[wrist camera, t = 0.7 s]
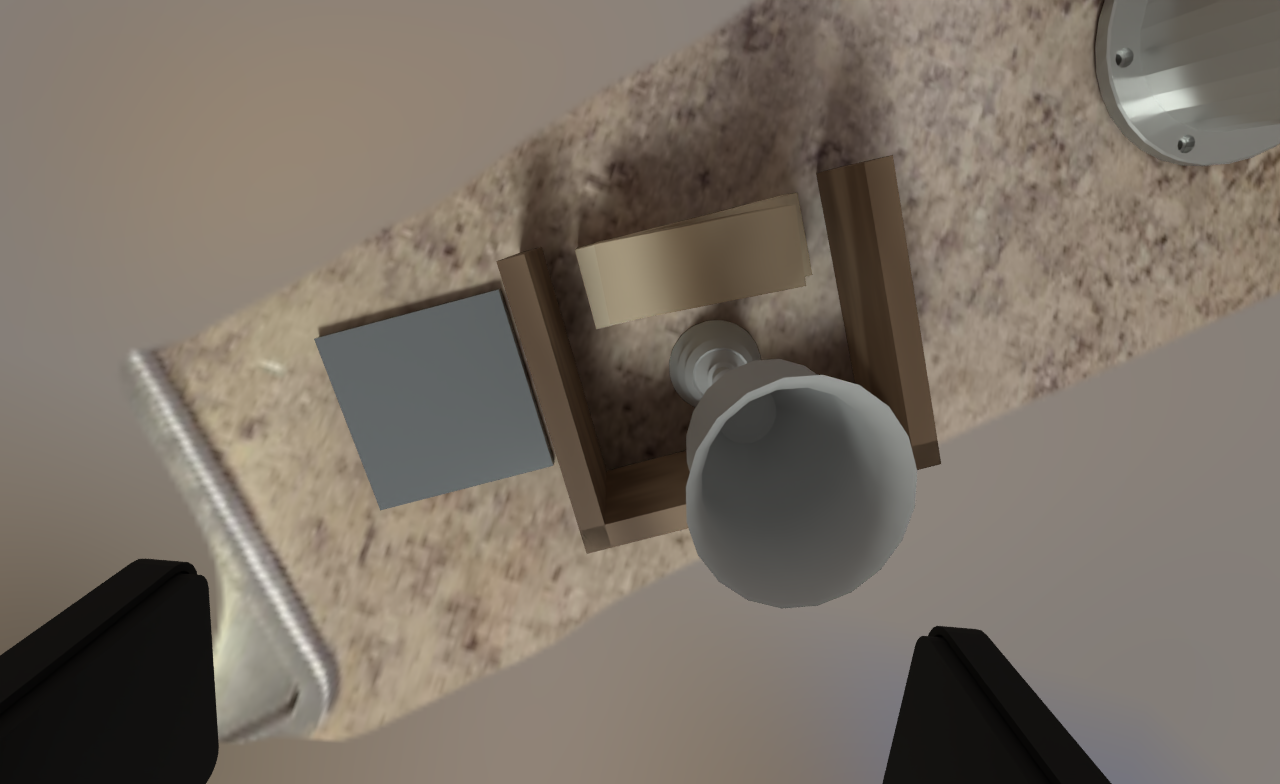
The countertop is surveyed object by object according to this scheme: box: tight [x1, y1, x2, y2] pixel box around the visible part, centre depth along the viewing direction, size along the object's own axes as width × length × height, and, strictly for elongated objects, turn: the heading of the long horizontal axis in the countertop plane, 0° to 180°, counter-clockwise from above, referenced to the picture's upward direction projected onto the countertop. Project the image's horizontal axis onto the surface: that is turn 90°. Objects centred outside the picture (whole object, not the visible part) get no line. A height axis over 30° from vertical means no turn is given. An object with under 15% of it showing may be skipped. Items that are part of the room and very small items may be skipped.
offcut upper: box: [594, 205, 806, 324], centre depth 32 cm, size 9×4×3 cm, turn 101°
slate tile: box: [314, 289, 554, 510], centre depth 37 cm, size 10×10×1 cm
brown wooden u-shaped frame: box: [497, 155, 941, 554], centre depth 34 cm, size 17×14×7 cm
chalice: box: [669, 320, 917, 608], centre depth 29 cm, size 7×7×18 cm
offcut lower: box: [575, 193, 812, 329], centre depth 35 cm, size 11×4×3 cm, turn 104°
